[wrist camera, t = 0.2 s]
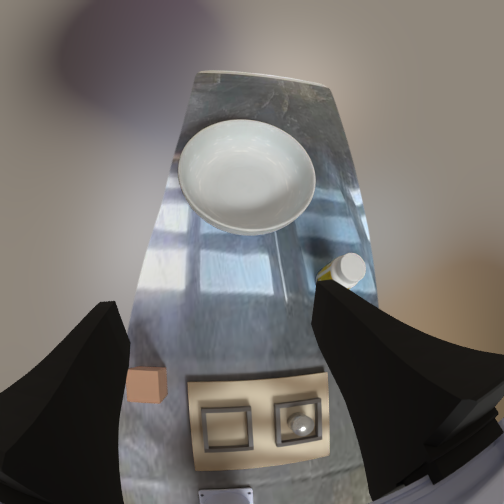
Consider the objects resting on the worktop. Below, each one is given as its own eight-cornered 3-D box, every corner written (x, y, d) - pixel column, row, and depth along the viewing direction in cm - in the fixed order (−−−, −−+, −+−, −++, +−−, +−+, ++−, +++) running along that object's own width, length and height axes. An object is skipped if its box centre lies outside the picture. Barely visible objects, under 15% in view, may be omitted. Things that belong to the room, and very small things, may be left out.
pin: (307, 429, 35) (314, 434, 32) (287, 432, 34) (293, 437, 32) (306, 410, 36) (314, 414, 33) (286, 413, 35) (292, 418, 33)
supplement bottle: (339, 300, 43) (366, 288, 35) (312, 292, 43) (335, 279, 35) (344, 272, 45) (370, 255, 37) (318, 263, 45) (340, 245, 37)
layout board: (326, 453, 35) (332, 457, 32) (195, 468, 31) (195, 474, 29) (324, 371, 39) (330, 372, 37) (187, 381, 36) (186, 383, 34)
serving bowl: (315, 169, 51) (328, 147, 45) (280, 269, 44) (293, 255, 37) (213, 129, 51) (215, 103, 44) (157, 217, 43) (150, 196, 37)
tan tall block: (167, 394, 35) (159, 403, 28) (140, 393, 34) (127, 401, 28) (166, 367, 36) (157, 371, 30) (138, 366, 35) (125, 369, 29)
